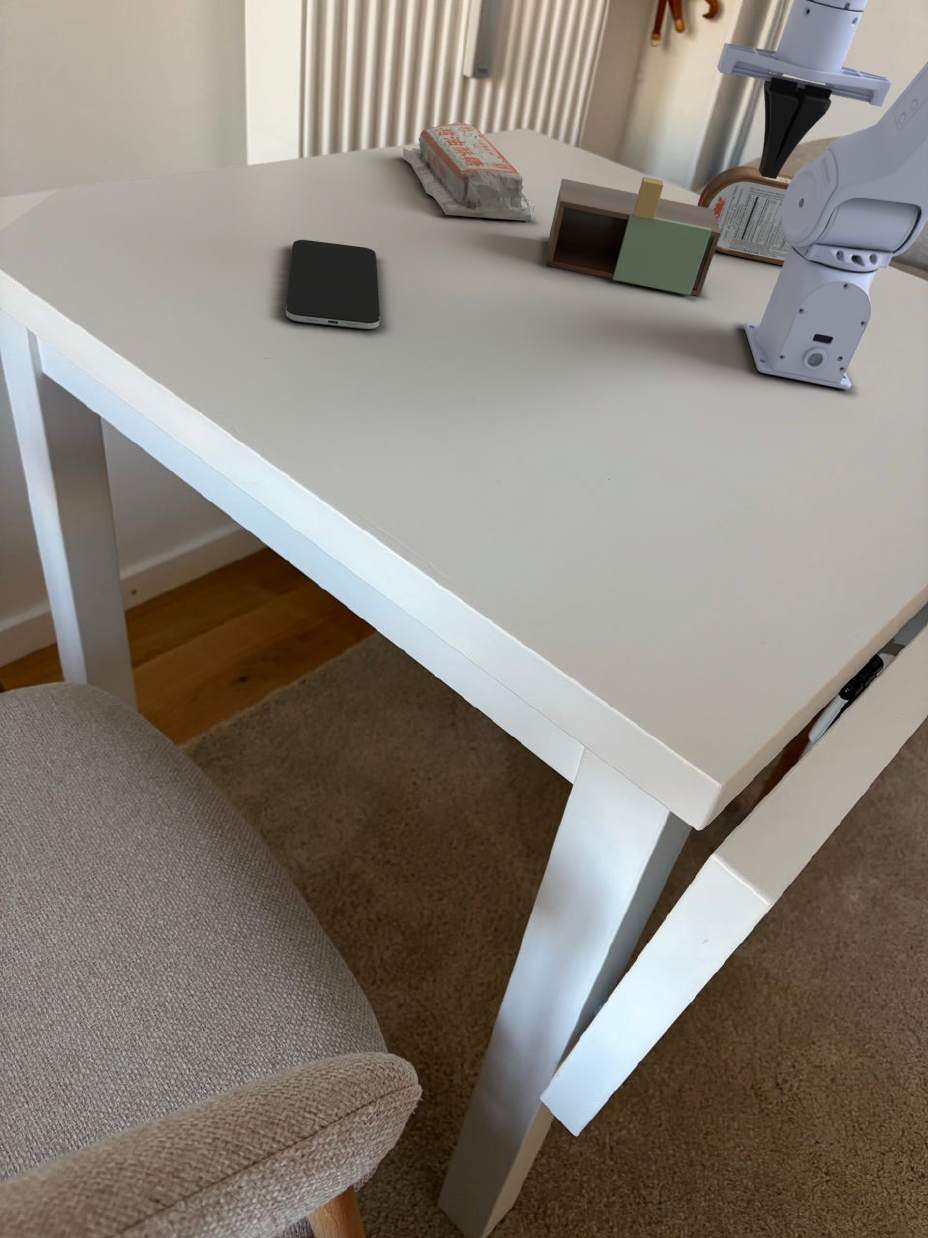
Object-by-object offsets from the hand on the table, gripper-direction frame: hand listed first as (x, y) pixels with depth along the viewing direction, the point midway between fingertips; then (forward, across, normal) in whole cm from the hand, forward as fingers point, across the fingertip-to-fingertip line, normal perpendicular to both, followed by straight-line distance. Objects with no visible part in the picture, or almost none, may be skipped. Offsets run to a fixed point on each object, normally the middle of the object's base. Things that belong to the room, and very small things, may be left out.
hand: (767, 174), depth 86 cm
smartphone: (+10, +36, +20) cm, 42 cm away
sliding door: (+10, +8, +6) cm, 14 cm away
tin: (+11, -4, -10) cm, 15 cm away
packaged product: (+11, +28, -12) cm, 33 cm away
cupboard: (+10, +11, +2) cm, 15 cm away
